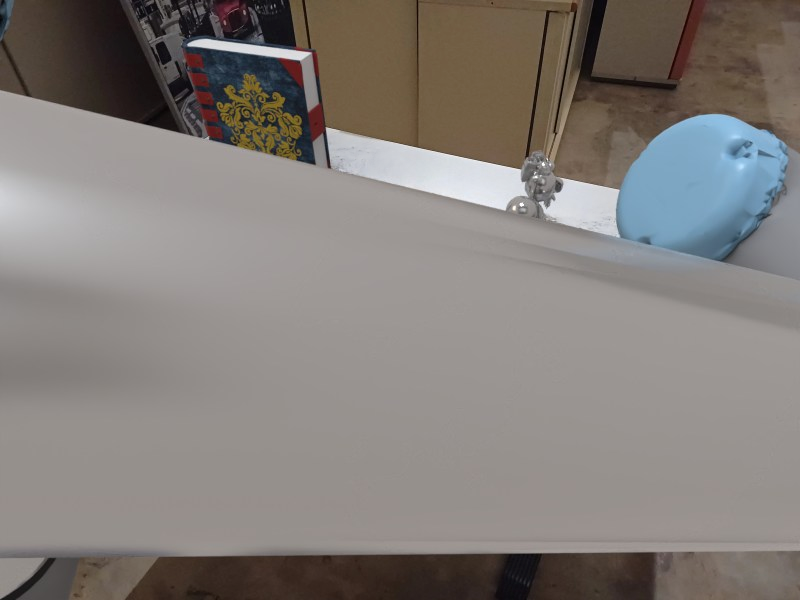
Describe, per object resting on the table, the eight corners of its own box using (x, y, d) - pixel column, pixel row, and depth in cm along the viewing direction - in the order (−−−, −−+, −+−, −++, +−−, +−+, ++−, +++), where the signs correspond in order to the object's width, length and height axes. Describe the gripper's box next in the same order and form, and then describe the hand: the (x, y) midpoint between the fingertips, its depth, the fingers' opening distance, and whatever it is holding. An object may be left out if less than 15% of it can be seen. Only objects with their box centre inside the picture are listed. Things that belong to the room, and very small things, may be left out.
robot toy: (525, 271, 88) (538, 190, 77) (490, 257, 90) (499, 177, 80) (563, 225, 96) (580, 146, 86) (531, 214, 99) (543, 136, 89)
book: (210, 171, 113) (172, 45, 96) (230, 155, 118) (197, 32, 101) (317, 194, 106) (297, 62, 88) (334, 176, 110) (318, 48, 93)
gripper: (653, 411, 37) (459, 408, 57) (765, 287, 45) (561, 323, 65) (601, 314, 36) (423, 346, 56) (725, 206, 44) (532, 268, 65)
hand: (498, 333), depth 61 cm, fingers closed on pill bottle, 5 cm apart
